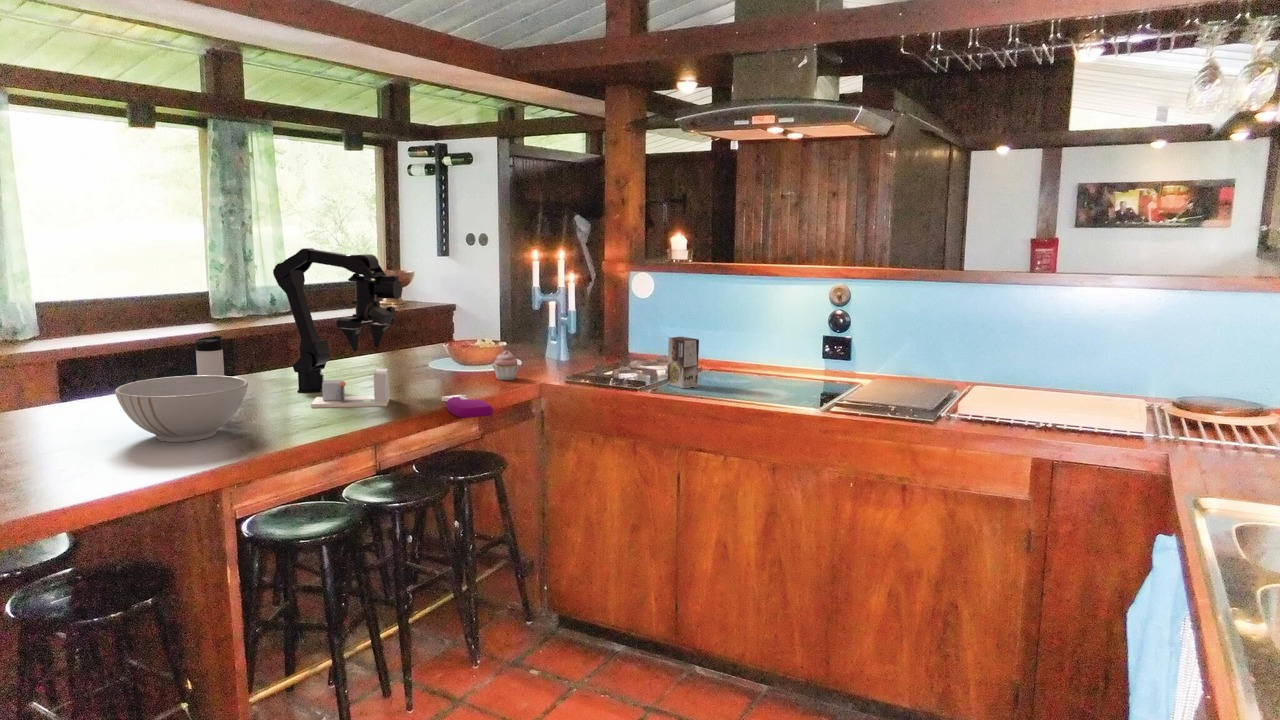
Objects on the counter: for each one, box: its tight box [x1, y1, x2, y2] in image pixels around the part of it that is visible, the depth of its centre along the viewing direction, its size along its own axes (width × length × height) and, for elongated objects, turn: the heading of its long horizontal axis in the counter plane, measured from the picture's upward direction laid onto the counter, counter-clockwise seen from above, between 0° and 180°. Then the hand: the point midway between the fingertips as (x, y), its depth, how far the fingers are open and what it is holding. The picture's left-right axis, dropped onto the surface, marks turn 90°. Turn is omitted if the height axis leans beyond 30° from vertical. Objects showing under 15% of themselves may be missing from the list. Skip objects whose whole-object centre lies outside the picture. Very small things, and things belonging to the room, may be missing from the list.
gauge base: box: [310, 368, 390, 409], centre depth 225 cm, size 20×10×9 cm, turn 104°
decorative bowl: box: [114, 374, 249, 443], centre depth 186 cm, size 27×27×12 cm
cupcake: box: [491, 349, 521, 381], centre depth 269 cm, size 9×9×10 cm
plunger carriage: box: [321, 379, 344, 400], centre depth 224 cm, size 5×8×5 cm, turn 14°
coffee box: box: [667, 336, 700, 389], centre depth 264 cm, size 9×6×16 cm
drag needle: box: [340, 380, 347, 401], centre depth 223 cm, size 2×2×5 cm
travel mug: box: [195, 335, 225, 376], centre depth 210 cm, size 6×7×20 cm
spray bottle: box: [441, 394, 494, 419], centre depth 224 cm, size 3×11×24 cm
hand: (366, 349), depth 237 cm, fingers open, 9 cm apart
